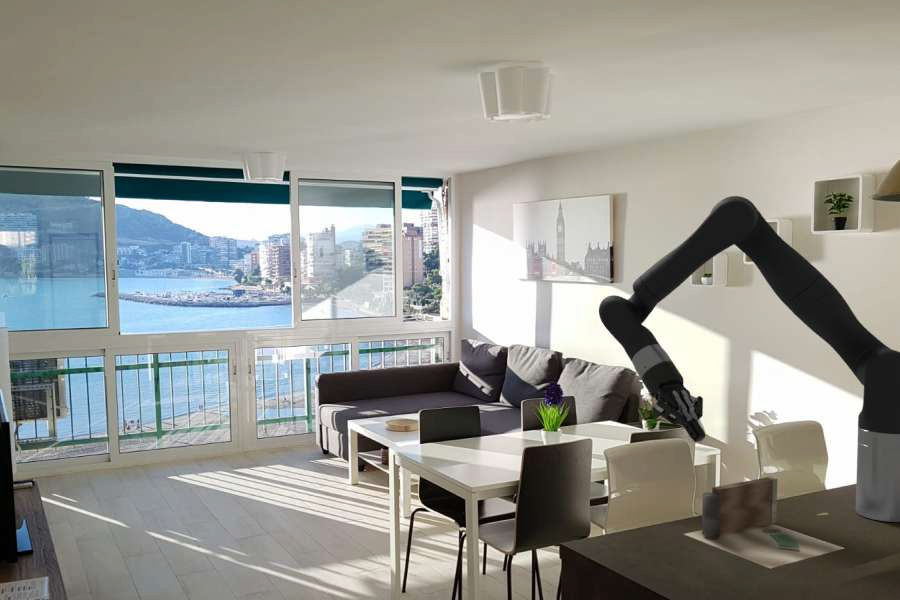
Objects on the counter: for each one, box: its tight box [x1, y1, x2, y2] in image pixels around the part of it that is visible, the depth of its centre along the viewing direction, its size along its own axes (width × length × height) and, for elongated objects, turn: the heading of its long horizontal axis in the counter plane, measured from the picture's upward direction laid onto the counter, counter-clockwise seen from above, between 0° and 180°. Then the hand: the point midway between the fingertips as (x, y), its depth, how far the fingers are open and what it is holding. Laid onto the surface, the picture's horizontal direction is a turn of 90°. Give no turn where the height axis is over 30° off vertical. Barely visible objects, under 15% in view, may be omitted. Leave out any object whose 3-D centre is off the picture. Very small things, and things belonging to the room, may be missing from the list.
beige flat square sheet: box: [683, 523, 845, 569], centre depth 133 cm, size 19×18×2 cm
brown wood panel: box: [701, 476, 778, 537], centre depth 138 cm, size 18×3×8 cm, turn 119°
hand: (700, 439), depth 152 cm, fingers closed
